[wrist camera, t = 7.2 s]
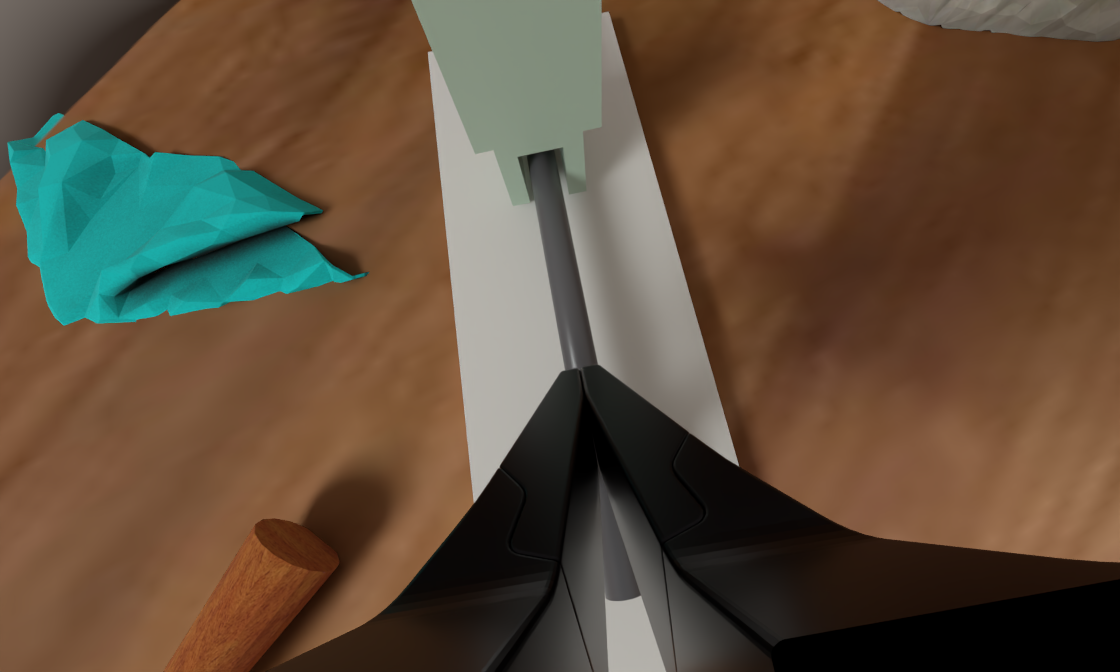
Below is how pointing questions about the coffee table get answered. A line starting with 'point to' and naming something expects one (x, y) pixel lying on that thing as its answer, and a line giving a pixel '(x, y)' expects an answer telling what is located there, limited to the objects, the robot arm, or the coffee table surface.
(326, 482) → the coffee table surface
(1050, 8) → the ceramic cottage
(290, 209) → the cloth
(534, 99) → the sage green stepped block
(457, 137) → the white board with rod
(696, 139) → the coffee table surface
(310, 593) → the kendama
